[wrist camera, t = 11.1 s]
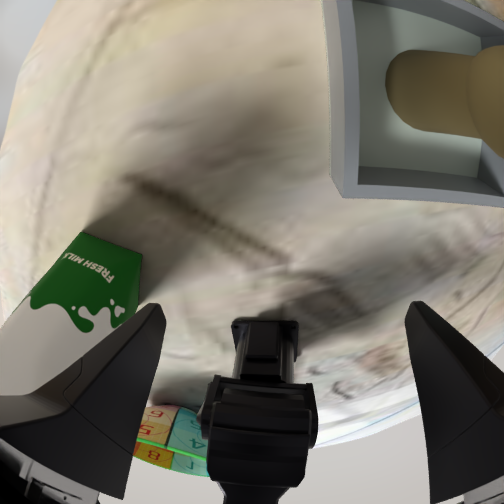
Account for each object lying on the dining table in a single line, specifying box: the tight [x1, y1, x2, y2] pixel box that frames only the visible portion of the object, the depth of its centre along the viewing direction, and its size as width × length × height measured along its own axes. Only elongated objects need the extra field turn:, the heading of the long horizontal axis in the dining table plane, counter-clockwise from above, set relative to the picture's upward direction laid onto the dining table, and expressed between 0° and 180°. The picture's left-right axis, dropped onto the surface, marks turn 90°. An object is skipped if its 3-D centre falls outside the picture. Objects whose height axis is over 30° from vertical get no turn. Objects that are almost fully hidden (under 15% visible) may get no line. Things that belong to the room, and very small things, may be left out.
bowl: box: [133, 405, 210, 477], centre depth 38 cm, size 22×22×10 cm
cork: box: [385, 45, 504, 159], centre depth 9 cm, size 6×6×11 cm
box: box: [321, 0, 504, 208], centre depth 12 cm, size 14×14×4 cm
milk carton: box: [0, 232, 142, 395], centre depth 17 cm, size 9×9×20 cm
